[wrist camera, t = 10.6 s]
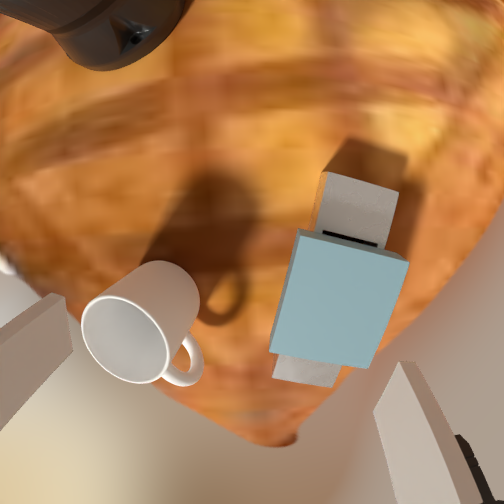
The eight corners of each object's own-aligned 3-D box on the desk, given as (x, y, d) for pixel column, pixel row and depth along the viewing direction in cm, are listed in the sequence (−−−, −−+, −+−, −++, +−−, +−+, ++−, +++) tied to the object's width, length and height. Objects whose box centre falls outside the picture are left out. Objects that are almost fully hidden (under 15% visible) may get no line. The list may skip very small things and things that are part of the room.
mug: (239, 332, 32) (222, 394, 22) (184, 363, 34) (155, 422, 24) (168, 242, 30) (119, 274, 20) (118, 284, 32) (66, 324, 22)
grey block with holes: (321, 171, 27) (328, 171, 23) (384, 189, 27) (399, 192, 23) (273, 355, 32) (271, 377, 28) (327, 365, 32) (332, 387, 28)
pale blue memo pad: (295, 221, 28) (300, 235, 22) (384, 243, 27) (409, 262, 21) (271, 317, 30) (268, 351, 24) (353, 333, 30) (367, 368, 24)
